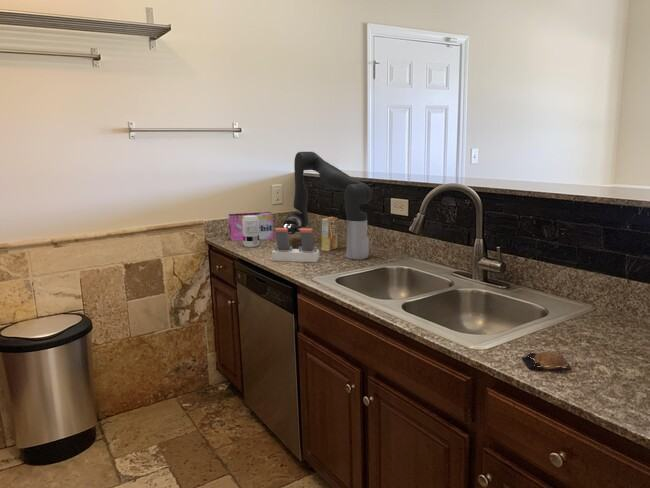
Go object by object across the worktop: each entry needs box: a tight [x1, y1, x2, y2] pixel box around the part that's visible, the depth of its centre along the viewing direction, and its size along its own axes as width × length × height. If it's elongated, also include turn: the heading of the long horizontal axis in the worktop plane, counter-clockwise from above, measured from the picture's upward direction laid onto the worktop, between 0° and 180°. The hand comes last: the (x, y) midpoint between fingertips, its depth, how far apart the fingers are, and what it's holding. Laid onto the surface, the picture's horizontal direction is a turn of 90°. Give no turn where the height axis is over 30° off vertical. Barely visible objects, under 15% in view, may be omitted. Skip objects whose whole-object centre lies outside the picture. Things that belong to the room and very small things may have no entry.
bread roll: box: [521, 351, 576, 374], centre depth 119 cm, size 11×8×4 cm
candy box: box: [321, 216, 339, 252], centre depth 240 cm, size 9×4×15 cm, turn 150°
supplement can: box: [242, 215, 260, 248], centre depth 248 cm, size 8×8×15 cm
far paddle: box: [274, 227, 290, 250], centre depth 219 cm, size 5×2×11 cm, turn 82°
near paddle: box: [299, 227, 315, 251], centre depth 217 cm, size 5×2×11 cm, turn 82°
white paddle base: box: [271, 245, 320, 263], centre depth 221 cm, size 20×7×6 cm, turn 82°
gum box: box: [227, 211, 275, 242], centre depth 266 cm, size 24×8×14 cm, turn 109°
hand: (284, 231), depth 227 cm, fingers closed
